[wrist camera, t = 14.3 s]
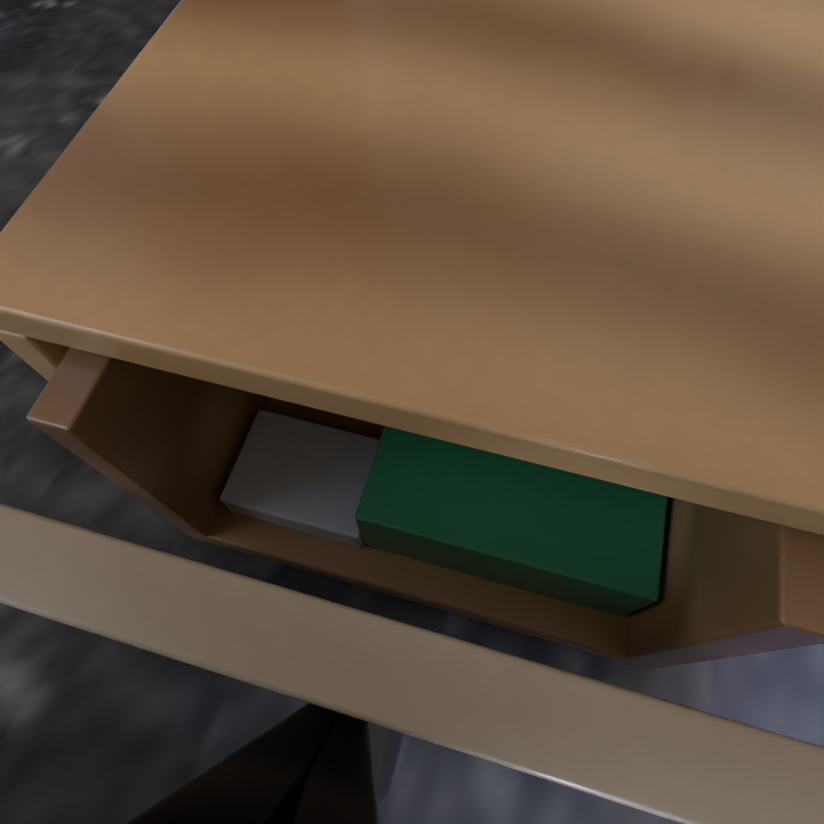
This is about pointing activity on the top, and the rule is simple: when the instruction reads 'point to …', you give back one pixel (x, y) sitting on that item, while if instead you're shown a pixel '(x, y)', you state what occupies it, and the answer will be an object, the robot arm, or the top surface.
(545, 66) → the cabinet
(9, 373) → the top surface
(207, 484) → the drawer
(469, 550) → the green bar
